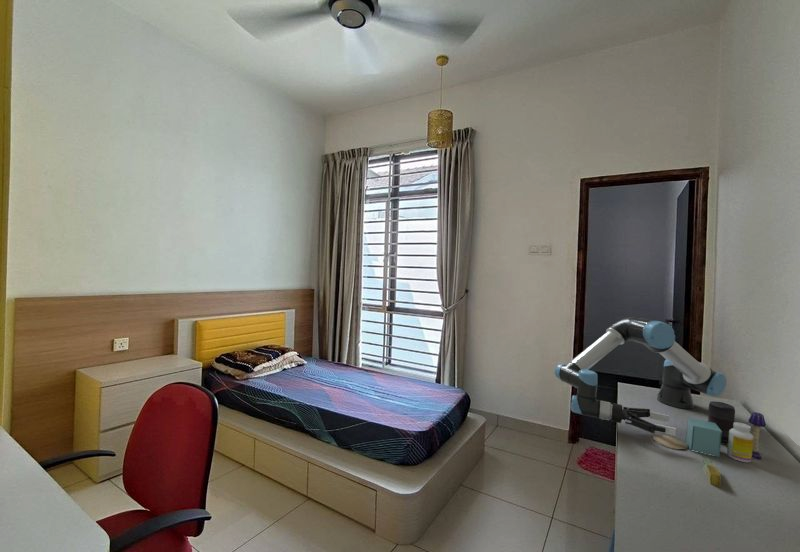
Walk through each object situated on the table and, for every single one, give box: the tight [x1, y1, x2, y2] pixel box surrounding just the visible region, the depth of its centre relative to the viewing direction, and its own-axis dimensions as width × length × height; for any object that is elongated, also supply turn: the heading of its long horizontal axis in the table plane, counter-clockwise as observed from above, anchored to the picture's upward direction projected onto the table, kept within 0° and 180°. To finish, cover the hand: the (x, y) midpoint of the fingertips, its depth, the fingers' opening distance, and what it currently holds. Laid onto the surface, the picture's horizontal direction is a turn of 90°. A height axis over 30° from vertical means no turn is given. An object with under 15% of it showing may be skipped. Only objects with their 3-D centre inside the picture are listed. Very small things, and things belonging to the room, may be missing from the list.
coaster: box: [652, 434, 689, 450], centre depth 144 cm, size 11×11×1 cm
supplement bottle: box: [726, 421, 754, 464], centre depth 134 cm, size 7×7×13 cm
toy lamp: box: [747, 411, 767, 460], centre depth 136 cm, size 5×5×17 cm
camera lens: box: [707, 400, 736, 445], centre depth 147 cm, size 8×8×15 cm
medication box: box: [701, 456, 722, 488], centre depth 121 cm, size 12×3×4 cm, turn 151°
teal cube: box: [685, 417, 722, 458], centre depth 139 cm, size 8×8×10 cm
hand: (672, 425), depth 144 cm, fingers open, 13 cm apart
